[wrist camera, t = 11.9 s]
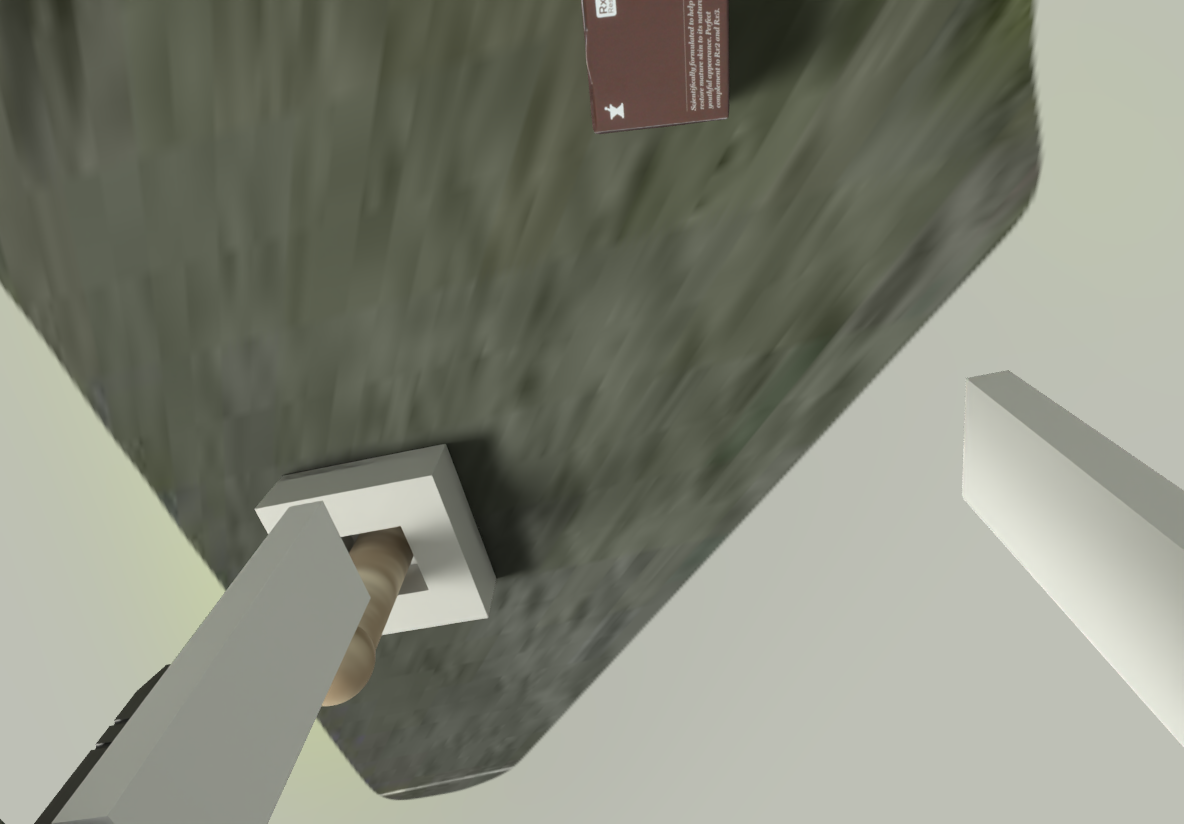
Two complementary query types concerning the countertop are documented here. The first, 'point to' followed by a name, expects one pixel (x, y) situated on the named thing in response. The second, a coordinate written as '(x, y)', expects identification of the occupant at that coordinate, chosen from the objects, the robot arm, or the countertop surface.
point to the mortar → (404, 528)
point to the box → (656, 62)
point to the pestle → (371, 606)
